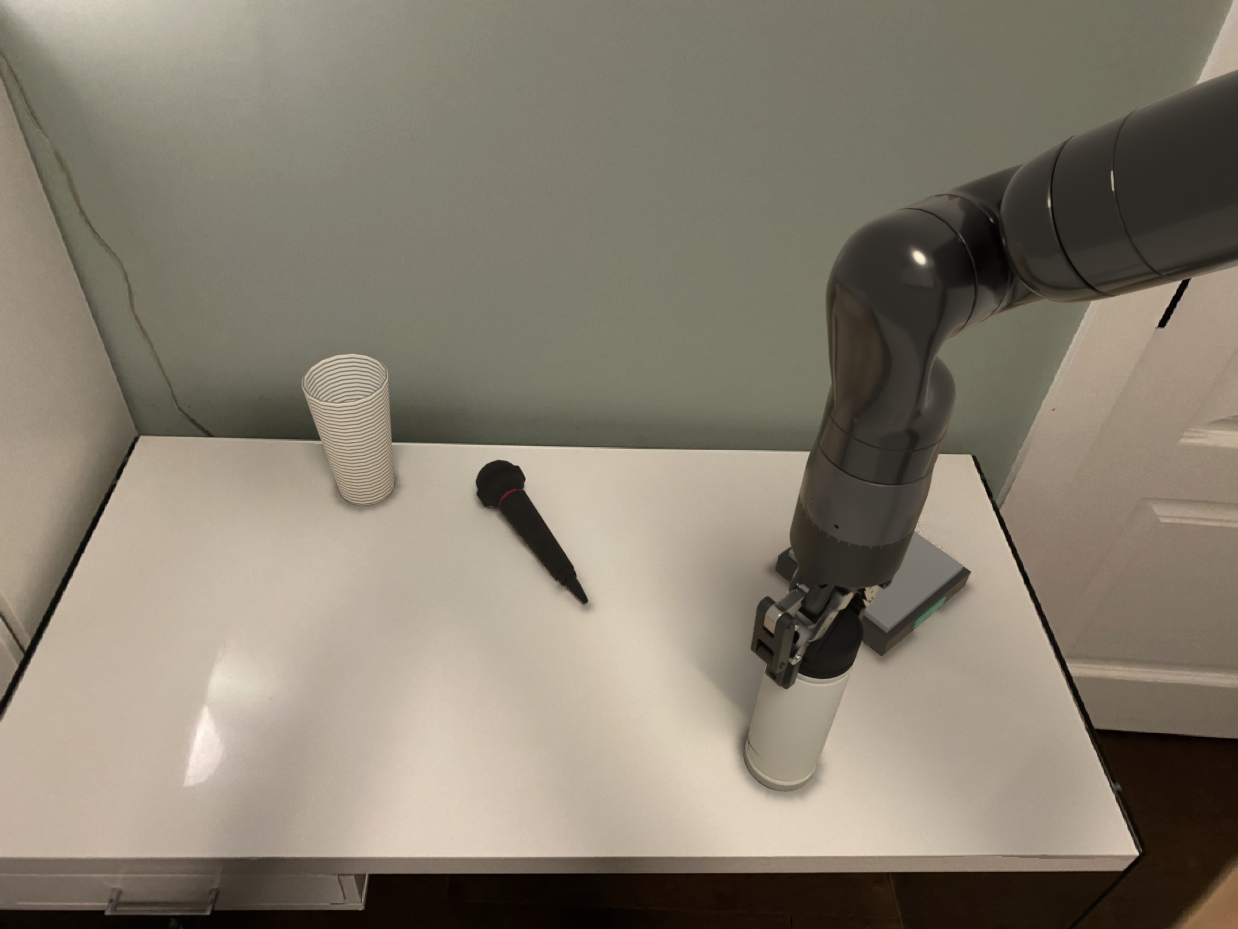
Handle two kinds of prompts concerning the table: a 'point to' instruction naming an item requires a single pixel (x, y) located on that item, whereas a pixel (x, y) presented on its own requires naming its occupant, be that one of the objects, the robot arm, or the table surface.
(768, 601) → the robot arm
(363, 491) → the cup
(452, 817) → the table surface
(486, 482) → the microphone
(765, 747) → the travel mug
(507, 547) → the table surface
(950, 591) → the scale
